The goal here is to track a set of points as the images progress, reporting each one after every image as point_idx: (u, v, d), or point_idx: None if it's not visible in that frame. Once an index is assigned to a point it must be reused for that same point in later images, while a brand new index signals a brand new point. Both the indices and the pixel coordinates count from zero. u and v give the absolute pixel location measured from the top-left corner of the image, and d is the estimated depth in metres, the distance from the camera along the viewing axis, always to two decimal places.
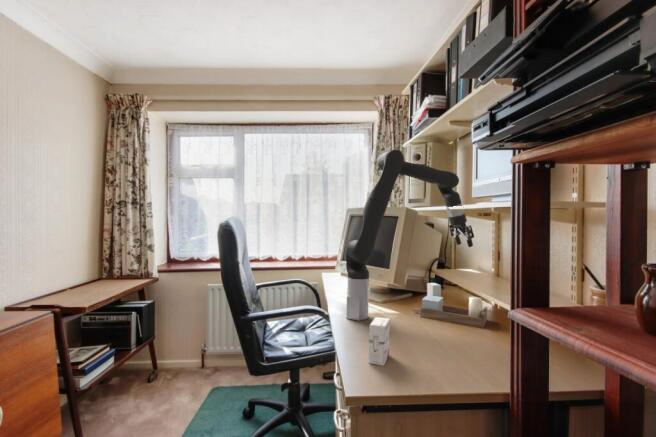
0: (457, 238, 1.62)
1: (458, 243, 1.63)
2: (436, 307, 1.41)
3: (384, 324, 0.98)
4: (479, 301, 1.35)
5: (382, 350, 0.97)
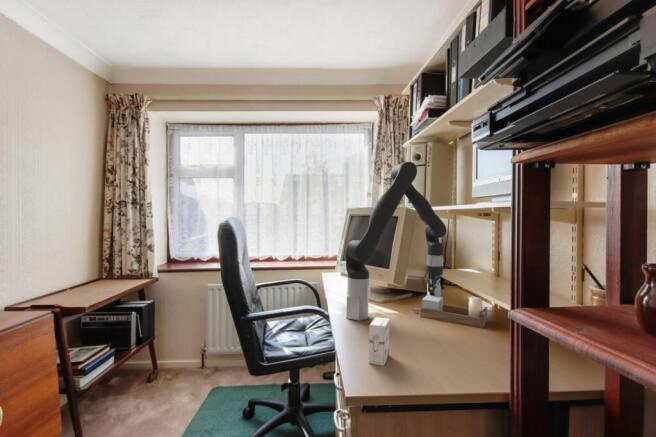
0: None
1: None
2: (436, 307, 1.41)
3: (384, 324, 0.98)
4: (479, 301, 1.35)
5: (382, 350, 0.97)
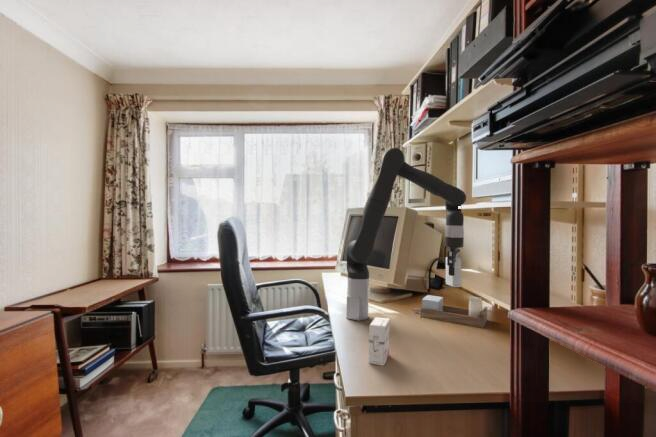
0: None
1: None
2: (436, 307, 1.41)
3: (384, 324, 0.98)
4: (479, 301, 1.35)
5: (382, 350, 0.97)
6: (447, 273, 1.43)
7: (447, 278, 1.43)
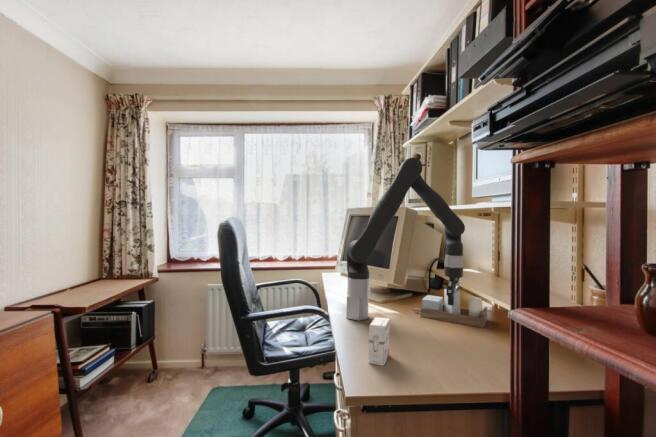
0: None
1: None
2: (436, 307, 1.41)
3: (384, 324, 0.98)
4: (479, 301, 1.35)
5: (382, 350, 0.97)
6: (445, 305, 1.43)
7: (446, 310, 1.42)
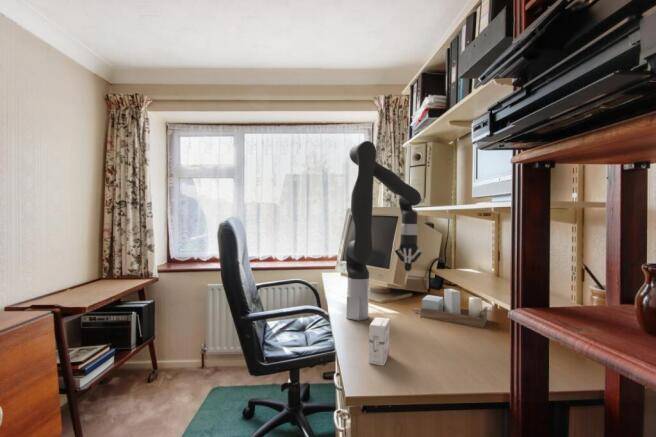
0: None
1: None
2: (436, 307, 1.41)
3: (384, 324, 0.98)
4: (479, 301, 1.35)
5: (382, 350, 0.97)
6: (445, 305, 1.43)
7: (446, 310, 1.42)
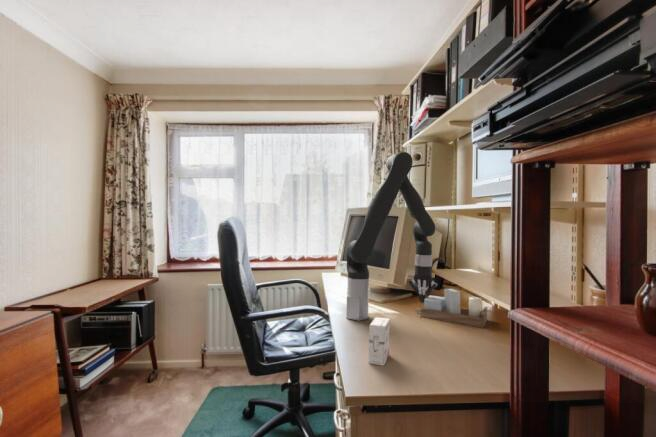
0: None
1: None
2: (438, 307, 1.40)
3: (384, 324, 0.98)
4: (479, 301, 1.35)
5: (382, 350, 0.97)
6: (445, 305, 1.43)
7: (446, 310, 1.42)
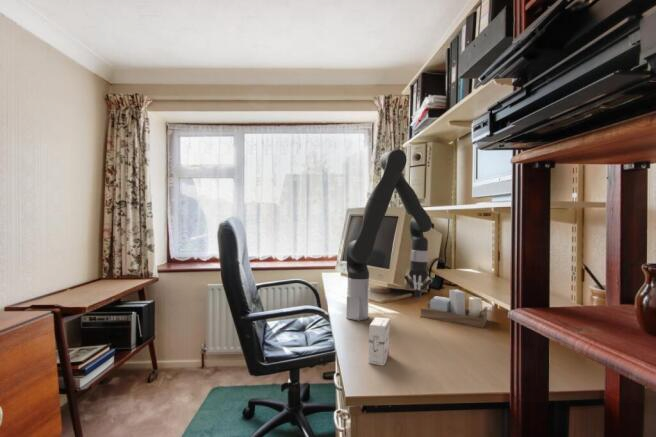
0: None
1: None
2: (445, 308, 1.39)
3: (384, 324, 0.98)
4: (479, 301, 1.35)
5: (382, 350, 0.97)
6: (450, 306, 1.42)
7: (451, 311, 1.41)
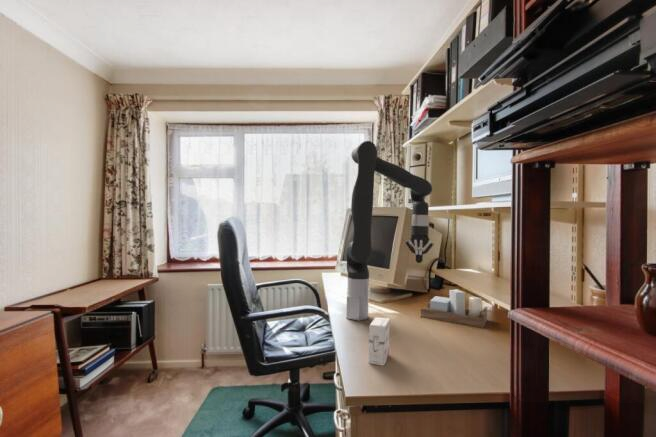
0: None
1: None
2: (445, 308, 1.39)
3: (384, 324, 0.98)
4: (479, 301, 1.35)
5: (382, 350, 0.97)
6: (450, 306, 1.42)
7: (451, 311, 1.41)
